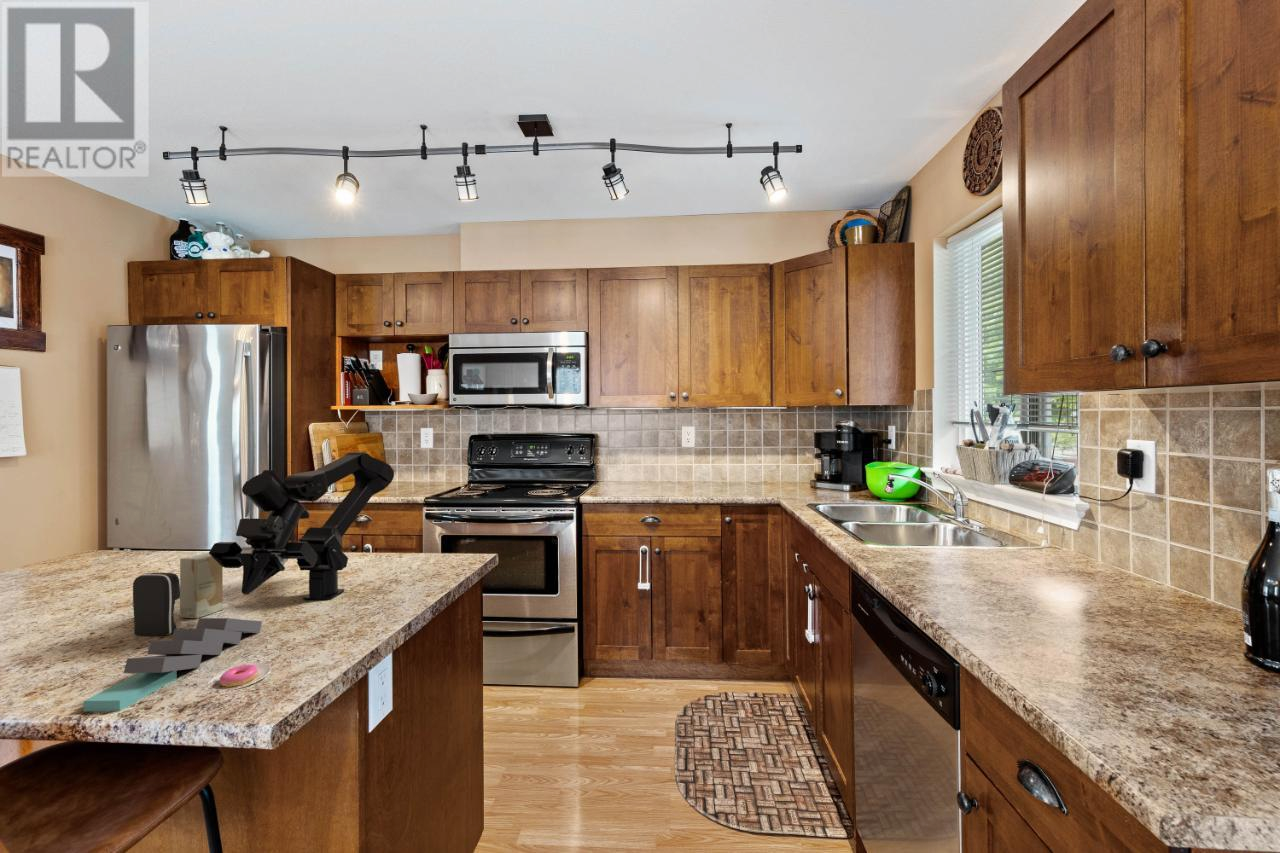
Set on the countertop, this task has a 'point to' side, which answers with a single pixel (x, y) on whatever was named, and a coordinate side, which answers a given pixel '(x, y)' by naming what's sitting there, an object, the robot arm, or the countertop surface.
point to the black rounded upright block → (155, 603)
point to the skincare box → (200, 586)
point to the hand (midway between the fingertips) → (244, 593)
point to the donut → (242, 675)
